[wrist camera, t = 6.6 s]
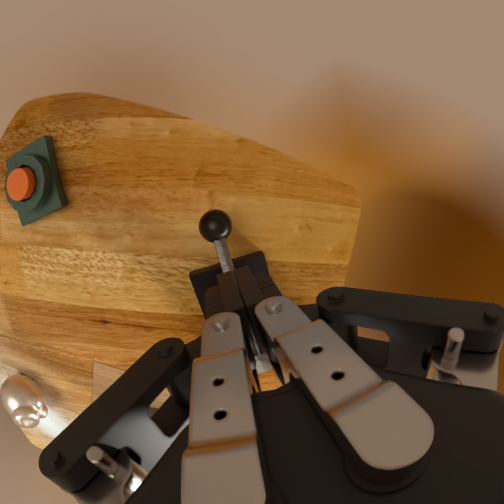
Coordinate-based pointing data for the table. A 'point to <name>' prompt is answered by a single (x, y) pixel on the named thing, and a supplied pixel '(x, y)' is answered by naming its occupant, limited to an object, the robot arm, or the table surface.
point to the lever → (225, 257)
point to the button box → (38, 181)
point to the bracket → (208, 278)
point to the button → (21, 183)
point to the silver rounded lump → (23, 401)
